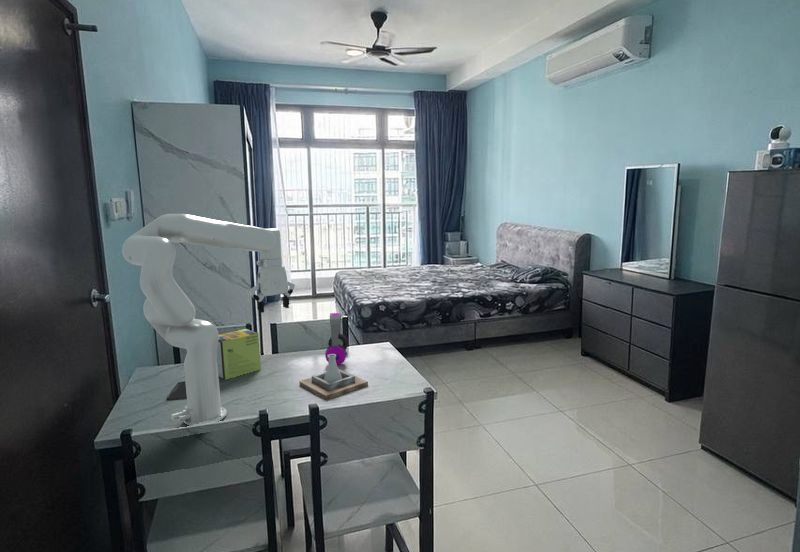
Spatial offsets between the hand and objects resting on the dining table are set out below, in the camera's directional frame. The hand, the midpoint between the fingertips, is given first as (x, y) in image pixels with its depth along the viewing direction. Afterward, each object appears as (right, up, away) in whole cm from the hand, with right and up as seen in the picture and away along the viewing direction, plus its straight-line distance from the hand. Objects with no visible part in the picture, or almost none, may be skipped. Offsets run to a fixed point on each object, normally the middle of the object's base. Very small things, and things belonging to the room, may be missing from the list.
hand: (273, 309), depth 167 cm
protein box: (-19, -26, +18) cm, 37 cm away
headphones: (+19, -24, +31) cm, 44 cm away
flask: (+21, -27, +2) cm, 34 cm away
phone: (-32, -30, -1) cm, 44 cm away
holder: (+21, -28, +2) cm, 35 cm away
